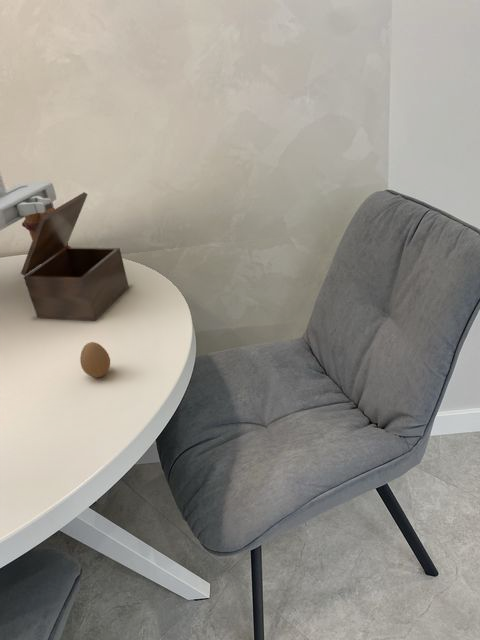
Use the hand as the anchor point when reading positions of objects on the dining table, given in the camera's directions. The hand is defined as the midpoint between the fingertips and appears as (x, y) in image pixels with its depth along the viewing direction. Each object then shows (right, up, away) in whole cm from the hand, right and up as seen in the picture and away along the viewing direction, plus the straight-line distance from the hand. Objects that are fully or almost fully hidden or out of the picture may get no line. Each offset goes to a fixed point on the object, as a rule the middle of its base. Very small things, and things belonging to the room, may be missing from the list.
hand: (48, 205), depth 100 cm
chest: (+3, -17, +10) cm, 20 cm away
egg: (+13, -31, -13) cm, 36 cm away
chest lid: (0, -5, +3) cm, 6 cm away
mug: (-8, -7, +28) cm, 30 cm away
